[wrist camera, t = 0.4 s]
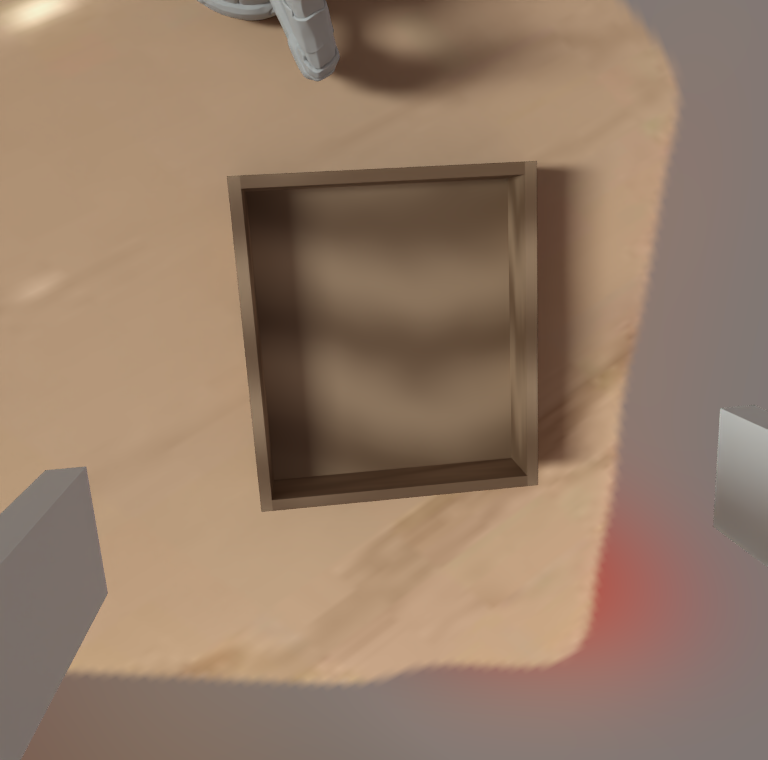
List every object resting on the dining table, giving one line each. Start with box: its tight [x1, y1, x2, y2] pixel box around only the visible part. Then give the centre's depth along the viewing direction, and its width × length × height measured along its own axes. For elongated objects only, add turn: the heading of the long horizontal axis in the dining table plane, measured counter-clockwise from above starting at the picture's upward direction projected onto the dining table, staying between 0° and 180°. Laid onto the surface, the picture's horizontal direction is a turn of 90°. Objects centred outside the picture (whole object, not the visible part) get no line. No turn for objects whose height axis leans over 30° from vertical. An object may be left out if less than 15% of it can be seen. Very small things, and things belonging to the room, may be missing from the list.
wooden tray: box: [227, 161, 538, 512], centre depth 37 cm, size 17×15×4 cm
